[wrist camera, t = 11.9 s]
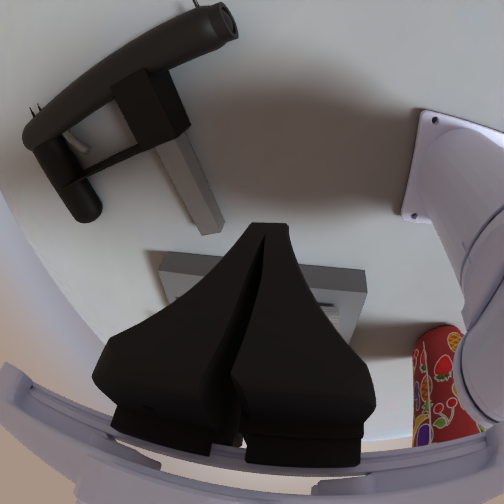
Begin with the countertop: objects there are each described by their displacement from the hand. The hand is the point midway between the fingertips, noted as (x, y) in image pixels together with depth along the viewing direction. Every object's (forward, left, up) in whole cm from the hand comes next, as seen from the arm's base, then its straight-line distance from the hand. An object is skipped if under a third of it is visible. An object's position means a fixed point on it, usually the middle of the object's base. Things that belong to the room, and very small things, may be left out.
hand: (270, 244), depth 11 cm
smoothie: (-18, +19, -10) cm, 28 cm away
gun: (+11, -1, -10) cm, 15 cm away
